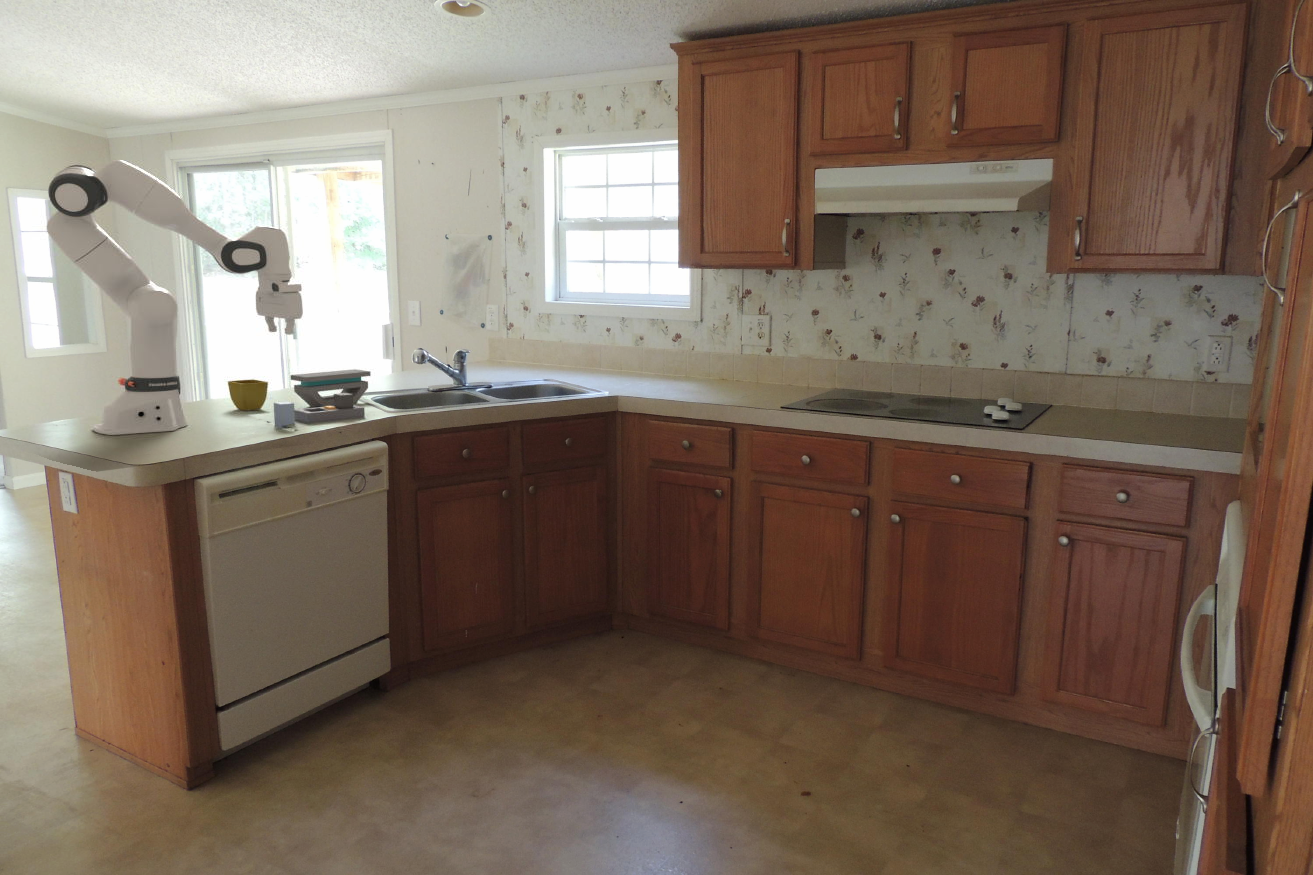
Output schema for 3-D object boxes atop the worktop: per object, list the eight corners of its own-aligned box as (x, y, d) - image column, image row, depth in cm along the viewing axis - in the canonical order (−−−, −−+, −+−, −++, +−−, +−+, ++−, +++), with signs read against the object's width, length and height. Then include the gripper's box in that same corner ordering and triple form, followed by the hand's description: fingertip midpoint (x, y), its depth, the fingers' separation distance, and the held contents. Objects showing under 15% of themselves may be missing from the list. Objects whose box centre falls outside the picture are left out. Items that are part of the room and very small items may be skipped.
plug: (281, 428, 252) (280, 404, 250) (274, 426, 254) (273, 402, 253) (295, 427, 255) (294, 403, 253) (288, 425, 257) (287, 401, 256)
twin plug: (341, 418, 265) (340, 395, 264) (334, 416, 268) (333, 393, 266) (353, 417, 268) (352, 394, 267) (346, 415, 271) (345, 392, 269)
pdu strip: (308, 427, 255) (307, 411, 255) (294, 423, 261) (294, 407, 260) (364, 420, 269) (364, 405, 268) (350, 417, 274) (350, 402, 273)
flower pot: (254, 406, 287) (253, 378, 285) (270, 409, 282) (268, 381, 280) (228, 409, 280) (226, 381, 278) (243, 412, 275) (242, 383, 273)
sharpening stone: (356, 400, 306) (355, 369, 304) (371, 403, 302) (370, 371, 300) (291, 408, 286) (290, 375, 284) (307, 411, 282) (305, 377, 280)
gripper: (247, 283, 256) (252, 331, 259) (283, 286, 243) (288, 337, 247) (268, 282, 261) (273, 329, 264) (304, 285, 248) (309, 334, 251)
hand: (281, 333), depth 255 cm, fingers open, 8 cm apart
